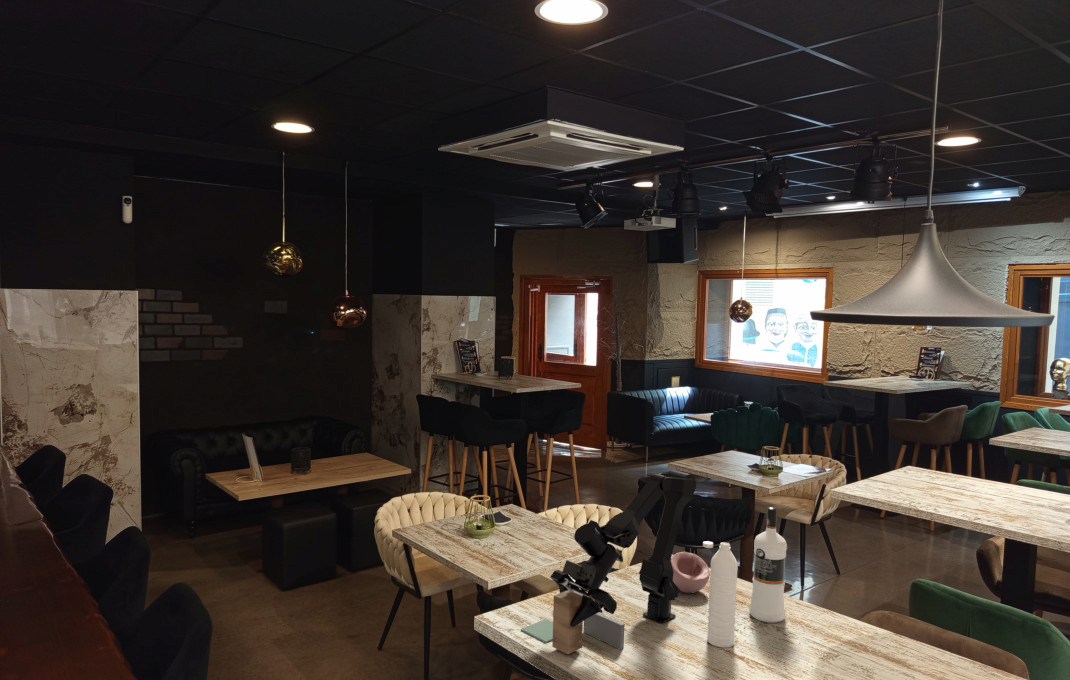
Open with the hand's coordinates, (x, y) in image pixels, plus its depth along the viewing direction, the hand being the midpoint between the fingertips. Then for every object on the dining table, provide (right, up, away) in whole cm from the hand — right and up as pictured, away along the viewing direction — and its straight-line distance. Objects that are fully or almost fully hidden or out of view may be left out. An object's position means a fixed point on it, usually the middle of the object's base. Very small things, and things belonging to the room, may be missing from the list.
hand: (563, 621), depth 168 cm
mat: (-4, -7, +11) cm, 14 cm away
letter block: (+1, -7, +1) cm, 7 cm away
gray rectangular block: (+10, -7, +7) cm, 15 cm away
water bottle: (+38, -9, +9) cm, 40 cm away
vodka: (+56, -9, +25) cm, 62 cm away
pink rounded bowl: (+38, -7, +40) cm, 56 cm away
